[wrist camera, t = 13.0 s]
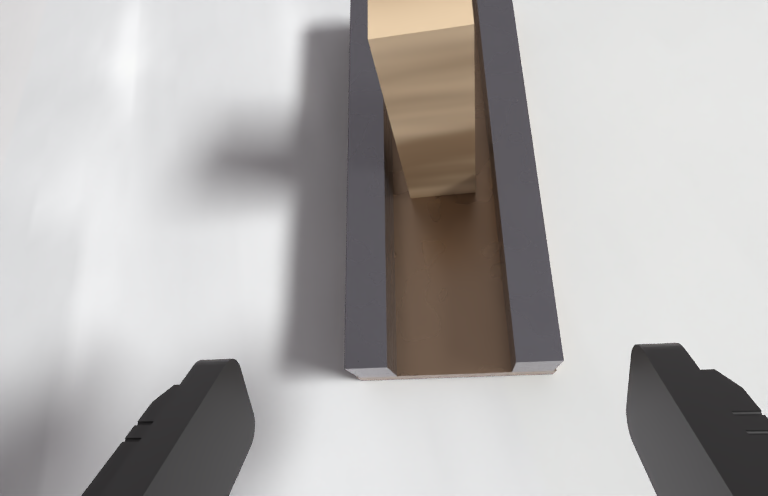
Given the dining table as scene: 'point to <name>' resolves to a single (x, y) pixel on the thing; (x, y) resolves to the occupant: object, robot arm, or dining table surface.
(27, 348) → the dining table surface
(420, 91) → the light brown wooden block
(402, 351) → the door track
